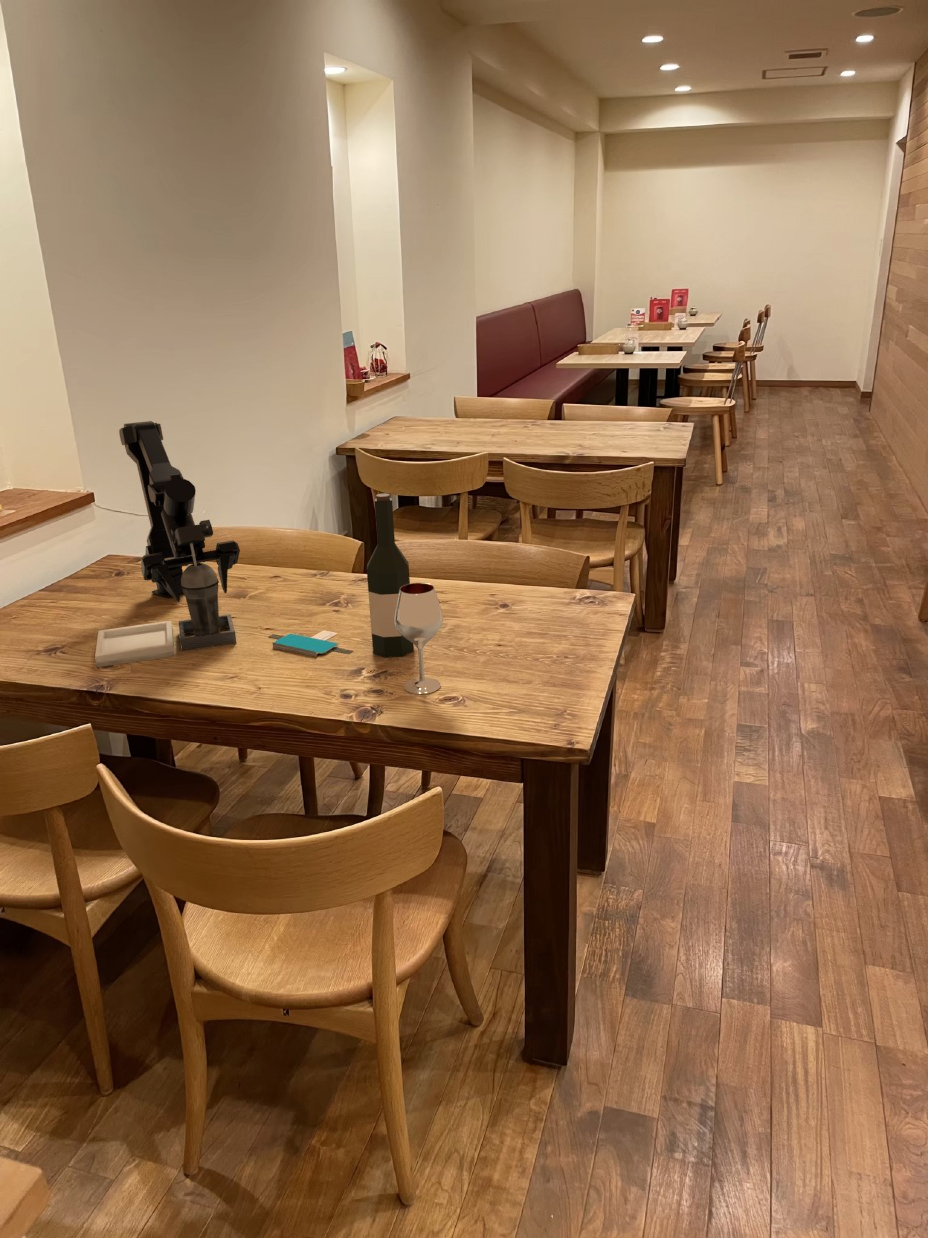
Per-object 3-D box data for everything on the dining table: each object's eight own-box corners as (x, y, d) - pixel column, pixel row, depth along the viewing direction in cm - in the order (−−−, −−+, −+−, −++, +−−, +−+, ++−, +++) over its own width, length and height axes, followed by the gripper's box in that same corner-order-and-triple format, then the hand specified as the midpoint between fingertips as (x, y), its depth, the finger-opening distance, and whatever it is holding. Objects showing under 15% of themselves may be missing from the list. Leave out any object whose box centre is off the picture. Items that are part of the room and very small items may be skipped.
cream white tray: (97, 667, 168) (94, 656, 167) (100, 640, 181) (98, 630, 180) (174, 655, 172) (172, 645, 171) (173, 630, 185) (171, 620, 184)
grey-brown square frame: (181, 651, 174) (180, 639, 173) (180, 632, 183) (178, 621, 182) (236, 643, 177) (234, 631, 176) (232, 625, 186) (230, 613, 185)
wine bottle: (381, 661, 166) (369, 502, 155) (365, 646, 173) (352, 493, 162) (422, 652, 170) (413, 496, 159) (404, 637, 177) (395, 487, 166)
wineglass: (398, 678, 159) (392, 581, 153) (444, 675, 160) (440, 579, 153) (399, 698, 151) (392, 598, 145) (447, 695, 152) (442, 595, 145)
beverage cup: (231, 631, 183) (218, 536, 176) (219, 644, 176) (204, 547, 169) (197, 630, 184) (182, 536, 177) (183, 644, 177) (167, 547, 170)
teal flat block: (371, 643, 176) (371, 635, 176) (334, 665, 167) (333, 657, 166) (292, 627, 186) (291, 619, 185) (253, 647, 176) (252, 639, 175)
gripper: (134, 515, 170) (155, 585, 165) (231, 500, 179) (254, 567, 174) (133, 545, 180) (153, 613, 175) (225, 530, 188) (247, 594, 183)
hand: (202, 596), depth 176 cm, fingers open, 9 cm apart
